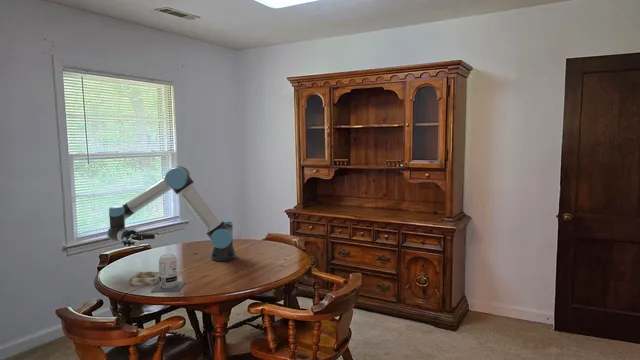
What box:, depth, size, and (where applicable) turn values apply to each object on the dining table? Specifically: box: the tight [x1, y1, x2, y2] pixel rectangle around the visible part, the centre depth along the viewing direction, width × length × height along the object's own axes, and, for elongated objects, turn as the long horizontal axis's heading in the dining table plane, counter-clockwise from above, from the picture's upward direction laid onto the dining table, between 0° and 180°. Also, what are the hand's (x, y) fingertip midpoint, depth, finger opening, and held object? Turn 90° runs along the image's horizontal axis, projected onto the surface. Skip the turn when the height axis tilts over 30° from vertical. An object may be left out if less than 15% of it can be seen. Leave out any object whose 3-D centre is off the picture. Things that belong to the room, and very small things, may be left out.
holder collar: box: [128, 270, 160, 286], centre depth 218 cm, size 13×13×3 cm
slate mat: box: [150, 281, 186, 293], centre depth 208 cm, size 13×13×1 cm
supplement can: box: [158, 253, 178, 288], centre depth 208 cm, size 8×8×15 cm
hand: (151, 241), depth 218 cm, fingers open, 13 cm apart
